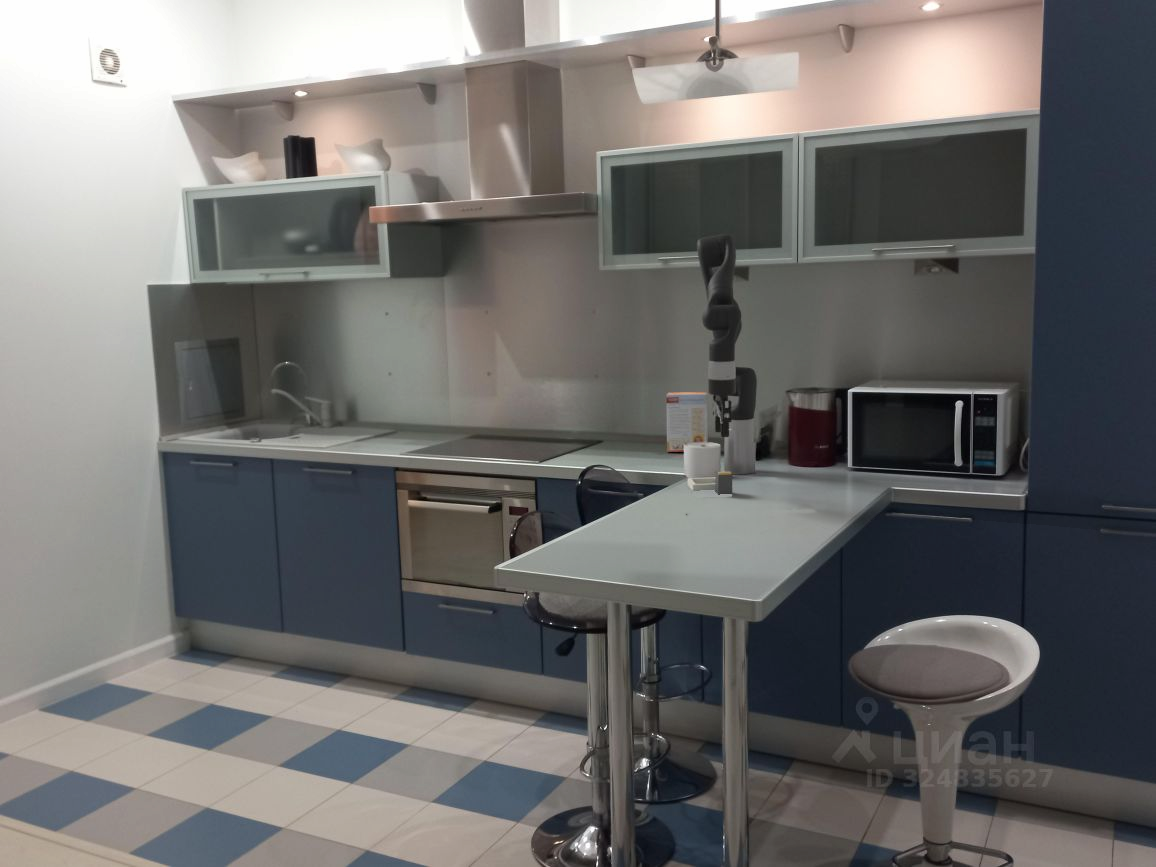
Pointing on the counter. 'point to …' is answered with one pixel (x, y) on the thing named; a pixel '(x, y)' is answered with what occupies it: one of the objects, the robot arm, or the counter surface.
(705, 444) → the toilet tissue
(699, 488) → the cream rectangular tray
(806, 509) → the counter surface
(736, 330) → the robot arm
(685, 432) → the cracker box
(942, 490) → the counter surface
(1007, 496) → the counter surface
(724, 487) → the plug
